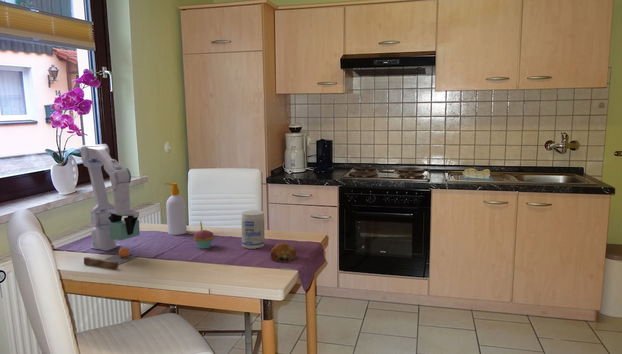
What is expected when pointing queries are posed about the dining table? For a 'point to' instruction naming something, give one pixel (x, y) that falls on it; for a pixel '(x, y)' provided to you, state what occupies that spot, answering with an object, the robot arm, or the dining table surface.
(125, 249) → the ball
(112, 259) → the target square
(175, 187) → the soap bottle
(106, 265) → the stopper strip
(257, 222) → the supplement tub
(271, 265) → the dining table surface
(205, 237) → the cupcake
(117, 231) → the teal rectangular box
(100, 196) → the robot arm
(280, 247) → the bread roll
